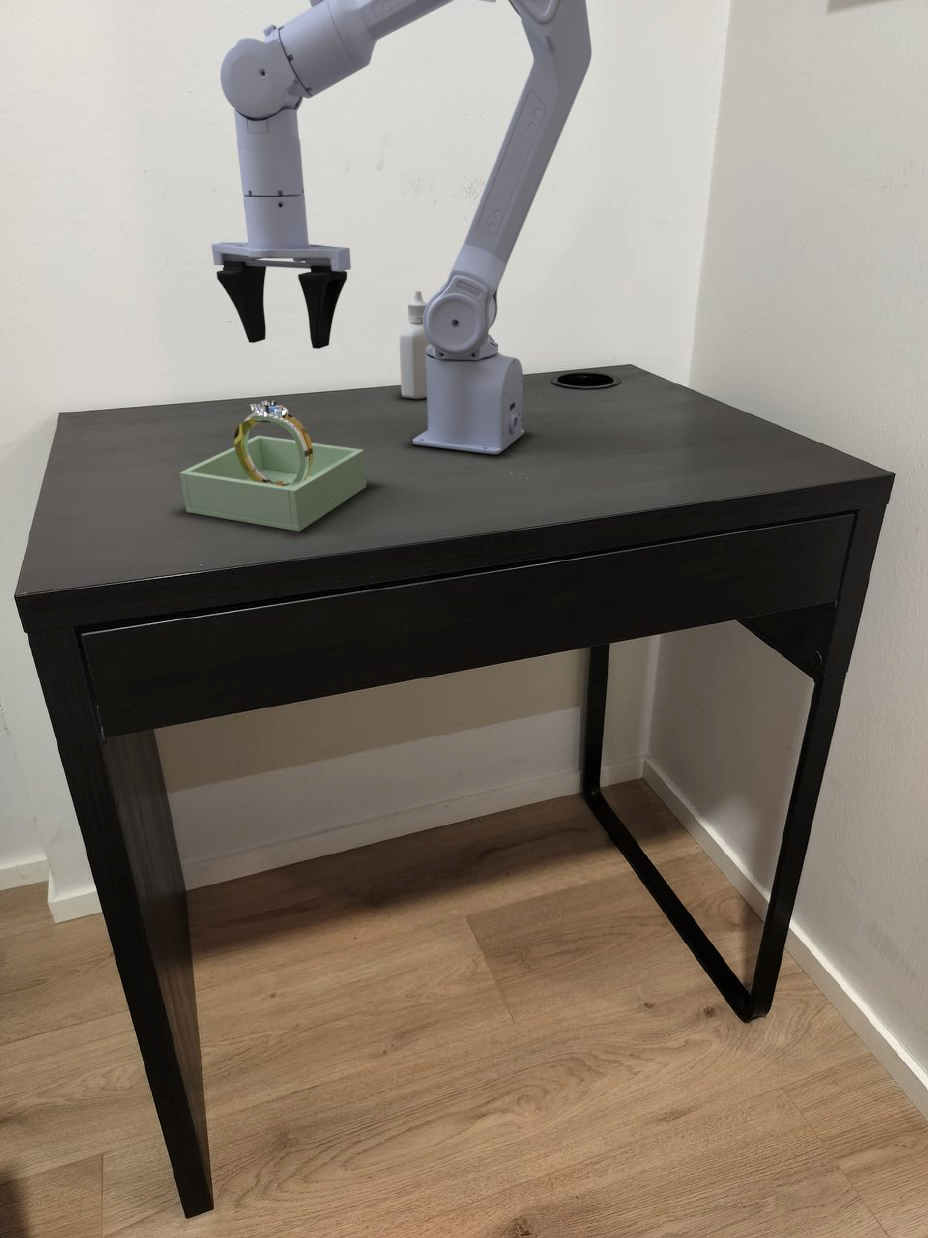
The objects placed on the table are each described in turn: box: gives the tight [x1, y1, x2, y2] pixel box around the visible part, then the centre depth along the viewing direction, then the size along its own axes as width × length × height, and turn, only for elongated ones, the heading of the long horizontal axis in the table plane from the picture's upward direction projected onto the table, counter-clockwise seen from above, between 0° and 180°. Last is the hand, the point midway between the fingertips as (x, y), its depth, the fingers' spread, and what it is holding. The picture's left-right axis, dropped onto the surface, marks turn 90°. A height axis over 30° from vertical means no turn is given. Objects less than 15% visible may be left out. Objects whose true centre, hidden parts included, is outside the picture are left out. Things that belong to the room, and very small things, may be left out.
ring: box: [233, 400, 313, 488], centre depth 75 cm, size 7×3×8 cm, turn 64°
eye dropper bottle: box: [399, 290, 430, 400], centre depth 105 cm, size 4×6×12 cm
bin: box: [179, 435, 367, 532], centre depth 76 cm, size 11×11×4 cm
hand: (288, 343), depth 89 cm, fingers open, 7 cm apart
